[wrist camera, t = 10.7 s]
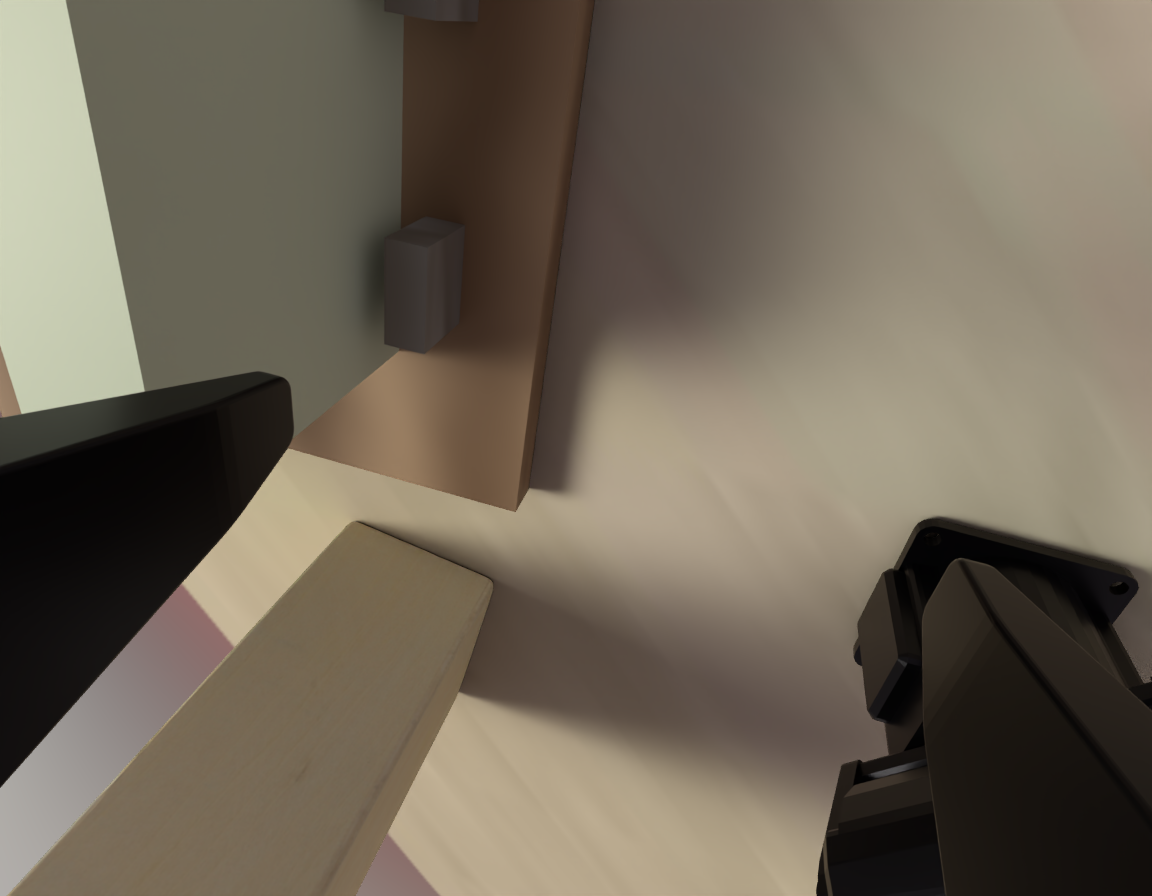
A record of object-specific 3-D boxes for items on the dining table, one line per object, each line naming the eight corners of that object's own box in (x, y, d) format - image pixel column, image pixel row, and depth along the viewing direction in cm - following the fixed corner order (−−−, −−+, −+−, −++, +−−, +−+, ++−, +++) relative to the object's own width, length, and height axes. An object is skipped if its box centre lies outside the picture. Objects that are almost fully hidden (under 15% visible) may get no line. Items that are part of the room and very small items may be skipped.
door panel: (407, -238, 15) (-47, -553, 7) (399, 351, 23) (174, 536, 14) (282, -255, 16) (-288, -571, 7) (314, 329, 23) (48, 497, 15)
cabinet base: (667, -539, 13) (584, -926, 8) (528, 488, 26) (460, 609, 21) (-47, -585, 16) (-493, -912, 10) (147, 383, 28) (-5, 467, 23)
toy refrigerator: (333, 506, 29) (-353, 1224, 12) (498, 576, 29) (46, 1428, 11) (315, 631, 34) (-203, 1291, 16) (458, 693, 33) (87, 1440, 16)
